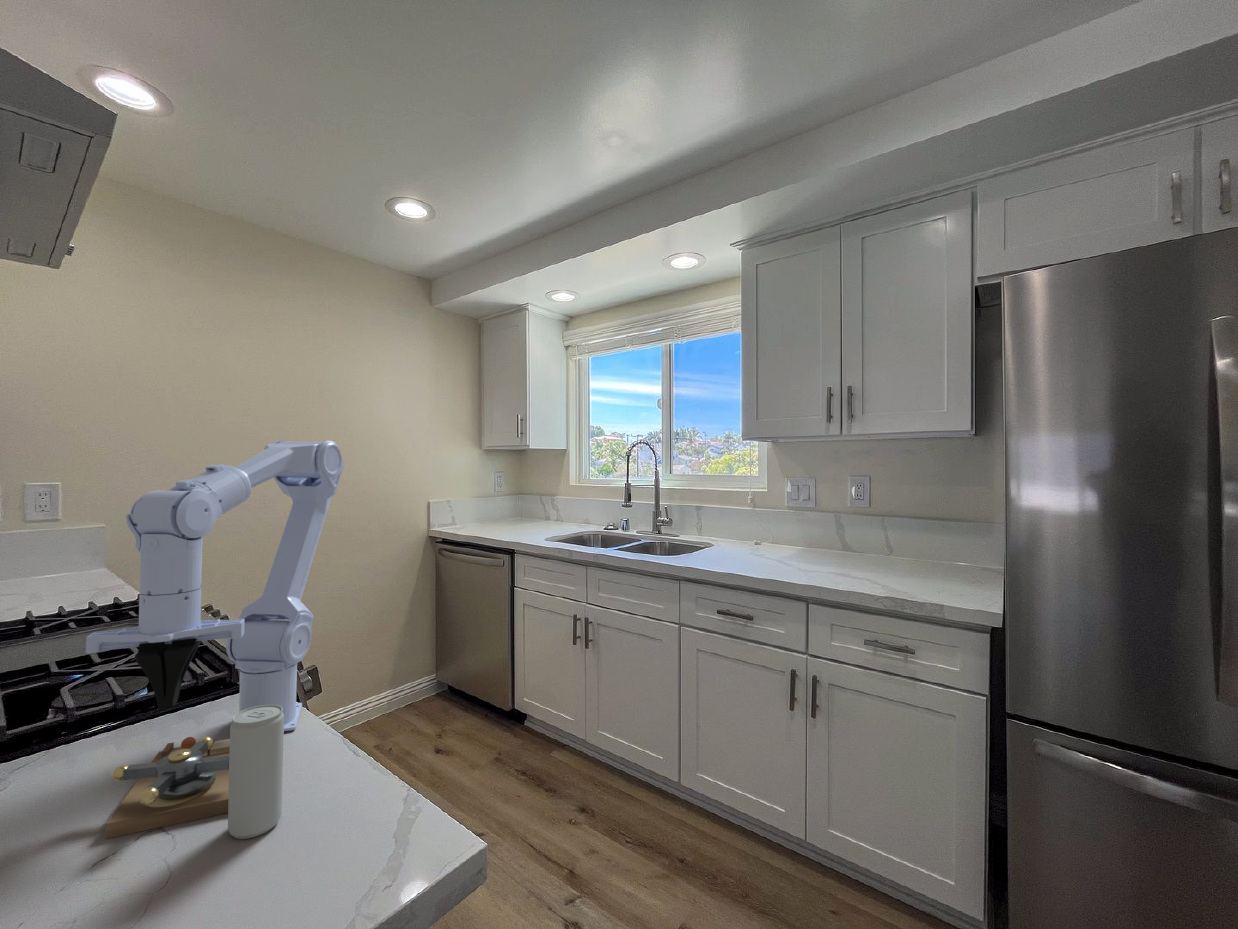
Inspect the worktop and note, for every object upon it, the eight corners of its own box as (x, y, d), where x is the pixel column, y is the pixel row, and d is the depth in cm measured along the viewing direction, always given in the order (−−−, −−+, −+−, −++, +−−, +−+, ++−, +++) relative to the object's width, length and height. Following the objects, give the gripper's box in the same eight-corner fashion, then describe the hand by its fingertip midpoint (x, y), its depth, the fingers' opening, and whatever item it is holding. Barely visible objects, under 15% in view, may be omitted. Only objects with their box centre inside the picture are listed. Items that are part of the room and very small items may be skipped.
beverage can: (254, 845, 55) (257, 725, 55) (215, 838, 56) (218, 721, 56) (292, 816, 59) (294, 706, 60) (255, 810, 60) (258, 702, 61)
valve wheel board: (158, 763, 70) (159, 734, 70) (268, 744, 75) (268, 717, 75) (105, 838, 55) (106, 802, 55) (245, 809, 60) (246, 775, 61)
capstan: (67, 831, 53) (69, 792, 54) (147, 764, 66) (148, 732, 66) (215, 814, 56) (216, 777, 56) (265, 753, 69) (266, 723, 69)
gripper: (74, 603, 58) (70, 731, 57) (237, 592, 64) (234, 707, 64) (103, 590, 64) (99, 705, 64) (248, 581, 70) (246, 685, 70)
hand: (168, 704), depth 64 cm, fingers closed
